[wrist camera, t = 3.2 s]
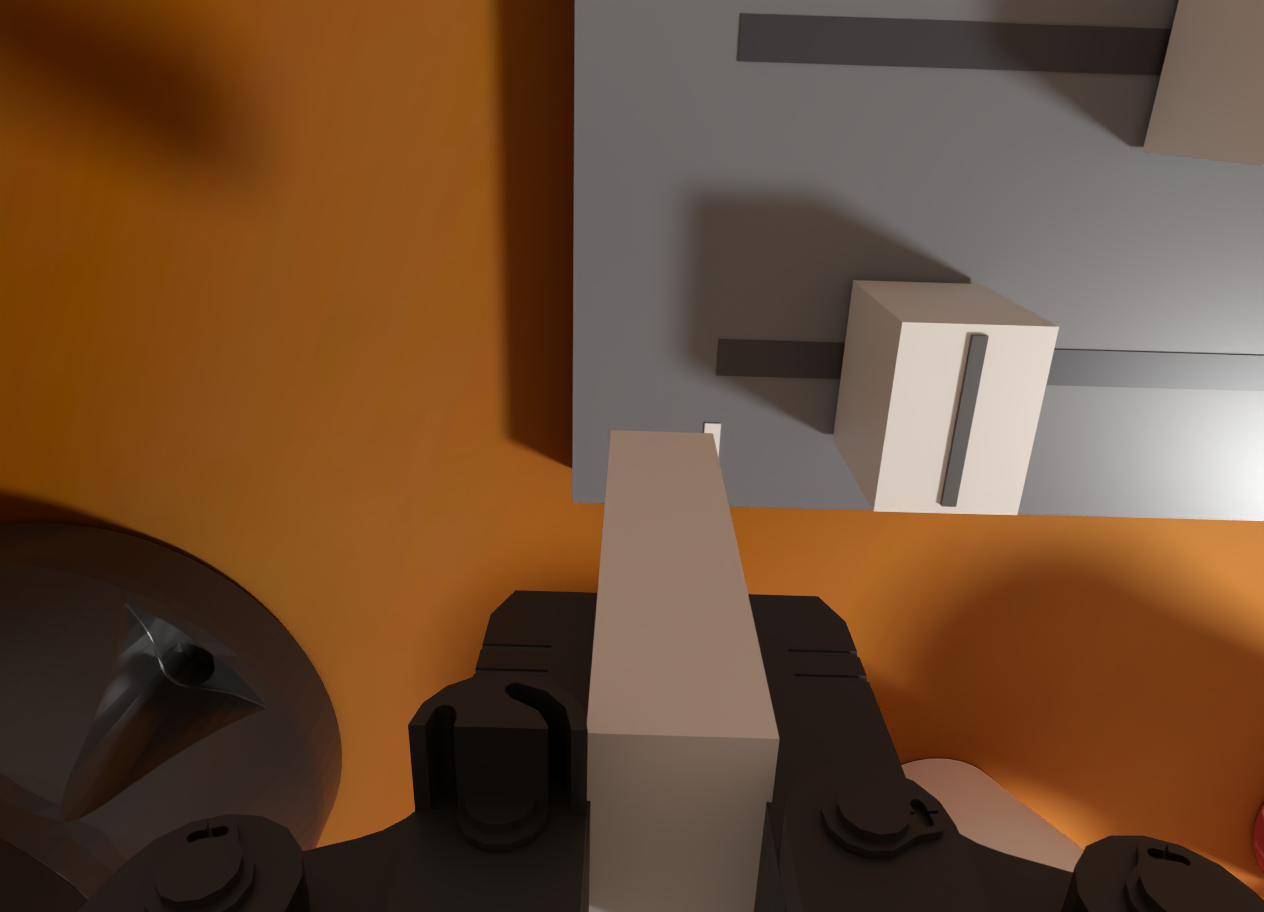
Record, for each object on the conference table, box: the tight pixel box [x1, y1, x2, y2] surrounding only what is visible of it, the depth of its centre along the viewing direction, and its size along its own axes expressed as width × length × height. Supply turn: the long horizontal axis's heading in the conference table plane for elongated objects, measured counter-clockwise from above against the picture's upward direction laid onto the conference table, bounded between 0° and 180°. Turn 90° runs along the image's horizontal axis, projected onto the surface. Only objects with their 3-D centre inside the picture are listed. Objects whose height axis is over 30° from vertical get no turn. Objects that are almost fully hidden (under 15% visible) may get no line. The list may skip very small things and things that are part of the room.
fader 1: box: [833, 280, 1059, 515], centre depth 19 cm, size 3×4×4 cm
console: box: [572, 0, 1264, 521], centre depth 21 cm, size 26×15×2 cm, turn 88°
